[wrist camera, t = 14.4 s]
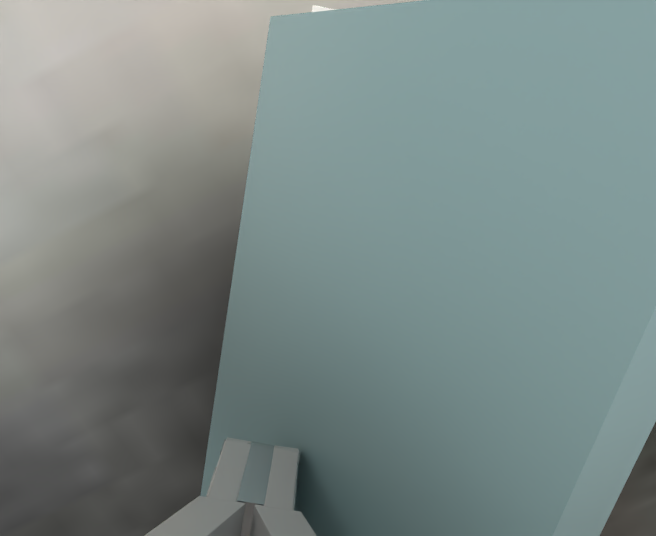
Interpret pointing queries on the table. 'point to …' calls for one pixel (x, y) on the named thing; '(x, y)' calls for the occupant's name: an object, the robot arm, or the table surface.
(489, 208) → the light blue flat panel
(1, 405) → the table surface
